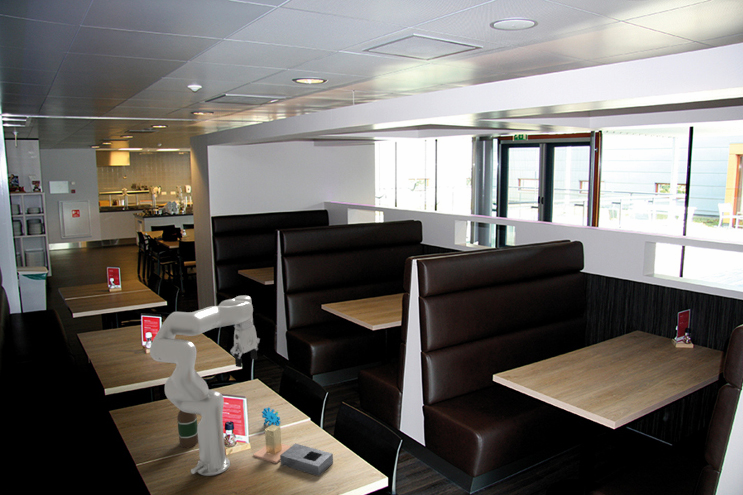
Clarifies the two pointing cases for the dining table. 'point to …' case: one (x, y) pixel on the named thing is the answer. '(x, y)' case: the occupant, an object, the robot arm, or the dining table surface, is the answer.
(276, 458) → the terracotta tile
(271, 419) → the gear
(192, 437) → the beer bottle
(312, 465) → the grey block with hole
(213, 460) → the robot arm
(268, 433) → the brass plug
